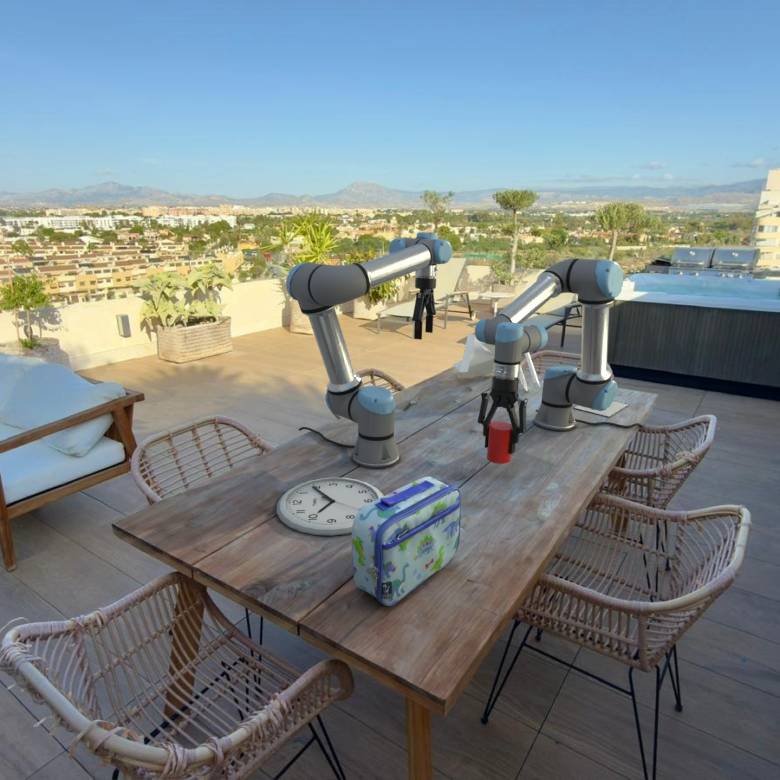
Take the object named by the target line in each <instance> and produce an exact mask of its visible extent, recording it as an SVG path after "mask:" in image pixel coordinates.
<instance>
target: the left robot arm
mask: <svg viewBox="0 0 780 780" xmlns="http://www.w3.org/2000/svg"><path fill="white" fill-rule="evenodd" d="M438 236H439V235H438V234H437V233H436V232H431V231H427V232H426V231H418V232H417V233H416V237H412V238H411V237H399V238H398V237H397V238H396V237H395V238H393V239H392V240H391V241H390V243H389V245H388V254H385V255H383V256H381V257H380V256H379V257H378V258H375V259H372V260H369V261H366V262H363V263H359V262H353V263H350V264H349V263H348V264H343V265H341V264H339V265H335V264H323V263H316V262H313V261H312V262H311V261H307V262H299V263H297V264H295V265H294V266H292V268H291V269H290V270H289V272H288V274H287V276H286V279H285V280H286V281H285V286H286V291H287V293H288V295H289V297H291V298H292V299H293V300H294V301H297V303H298V306H299V309H300V312H301V313H302V314H303V315H305V316H307V317H308V320H309V323H310V327H311V329H312V333H313V336H314V337H315V341H316V343H317V348H318V350H319V353H320V356H321V358H322V362H323V365H324V368H325V371H326V374H327V376H328V379H329V381H328V382H327V383H326V388H327V389H326V393H325V398H324V399H325V403H326V405H327V408H328V409H329V410H330V411H331V412H332V413H334V414H335V415H337V416H339V417H342V418H345V419H346V420H349V421H351V422H354V423H356V424H357V439H356V442H355V445H353V444H352V445H349V444H345V443H339V442H337V441H334V440H331V439H329V438H327V437H326V436H325V435H324V434H323V433H321V432H320V431H318V430H315V429H314V428H311V427H308V426H301V427H299V428H298V431H299V432H300V431H302V430H307V431H309V432H312V433H315V434H316V435H318V436H320V438H322V439H323V440H324V441H326V442H328V443H331V444H333V445H335V446H339V447H343V448H347V449H353V451H352V461H353V462H354V463H355V464H356V465H358V466H361V467H364V468H369V469H383V468H389V467H391V466H394V465H396V464H398V462H399V460H400V452H399V447H398V445H397V442H396V439H395V419H396V418H395V415H396V402H395V395H394V393H393V392H392V391H391V390H390V389H388V388H386V387H383V386H377V385H366V386H364V384H363V381H362V377H361V375H360V374H358V373H356V372H355V370H354V367H353V366H354V365H353V363H352V360H351V356H350V354H349V351H348V347H347V344H346V341H345V337H344V334H343V331H342V328H341V324H340V321H339V317H338V314H337V311H336V306H338V305H343V304H346V303H348V302H351V301H353V300H356V299H359V298H361V297H363V296H366V295H368V294H369V293H370V291H371V290H372V289H374V288H377V287H380V286H381V285H384V284H387V283H389V282H392V281H394V280H397V279H399V278H402V277H404V276H406V275H409V274H412V273H414V276H415V279H414V288H415V289H417V290H419V291H418V292H416V293H415V302H414V307H413V314H412V317H411V321H412V322H414V327H413V339H414V340H421V341H422V339H423V317H424V312H425V311H426V314H425V330H424V332H425V333H428V334H433V332H434V316H436V315H437V312H436V304H435V295H434V293H435V289H436V288H437V278H436V277H437V271H439V268H438V265H445V264H447V263H448V262H449V261H450V260H451V258H452V255H453V247H452V245H451V243H450V242H449V241H448V240H446V239H441V238H439V237H438Z"/></svg>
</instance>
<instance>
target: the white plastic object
mask: <svg viewBox="0 0 780 780" xmlns="http://www.w3.org/2000/svg"><path fill="white" fill-rule="evenodd" d="M465 341H466V342H465V345H464V351H463V355H462V359H461V360H460V361H457V362H455V363H453V364H452V366H453V370H454V374H455V375H456V377H457V378H458V379H466V378H474V377H475V378H476V377H483V376H485V377H490V376H494V375H493V366H494V357H495V345H491V344H486V343H483V342H480V341H478V340H477V339H476V336H475V333H473V334H472V333H471V334H470V333H469V334H467V338H466V340H465ZM524 356H525V359H526V362H527V365H528V368H529V372H530V375H531V378H532V380H533V383H534V386H535V387H536V389H539V388H541V384H540V382H539V378H538V375H537V372H536V369H535V366H534V363H533V361H532V358H531V357H532V356H531V353H530V352H528V353H524ZM522 368H523V367H522V364H520V373H519V377H518V379H519V382H520V384H521V385H522V387H523V388H524V390H525V391H526V392H528V390H529V388H528V387H529V386H528V384H527V381H526V377H525V375H524V371H523V369H522Z"/></svg>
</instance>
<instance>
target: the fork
mask: <svg viewBox="0 0 780 780" xmlns="http://www.w3.org/2000/svg"><path fill="white" fill-rule="evenodd" d="M418 398H419V396H415V395H413V396H412V398H411V399H410V402H409V403H408V404H407V405H406V406H405V407H404V409H403V411H406V410H407V409H409V408H410V407H411V405H413V404H416V403H417V402H418Z"/></svg>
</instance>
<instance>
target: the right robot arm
mask: <svg viewBox="0 0 780 780" xmlns="http://www.w3.org/2000/svg"><path fill="white" fill-rule="evenodd" d="M622 287H624V272H623V270H622V267H621V265H619V263H618V262H616V261H614V260H607V259H597V258H594V259H593V258H578V257H573V258H567V259H564V260H561V261H559V262H557V263H554V264H552V265H551V266H549V267H548V268H546V269H545V270H543V271H542V272H541V273H539V275H538V276H537V277H536V281H535V282H533V284H531V285H530V286H529V287H528V288H526V289H525V290H524V291H523V292H521V294H520V295H518V296H517V297H516V298H515V299H513V301H510V303H509V304H508V305H506V306H505V307H504V308H503V309H501V311H500V312H498V313H497V314H496V315H495V316H494V317H492V318H491V319H490V318H482V319H479V320H478V321H477V322H476V324H475V327H474V334H475V336H476V339H477V340H478V341H480V342H483V343H486V344H491V345H495V357H494V366H493V375H492V377H491V390H490V391H488V390H485V391H483V392H481V393H480V397H481V403H480V407H479V411H478V418H477V423H478V424H480V425H482V436H483V437H484V448H485V449H487V448H488V436H489V424H490V423H492V420H493V418H494V416H495V414H496V412H497V410H498V409H499V408H503V409H505V410H506V413H508V417H509V421H510V424H511V425H512V428H513V432H512V433H511V437H510V448H509V454H511V455H513V454H514V453H515V451H516V445H517V444H519V441H520V436H521V435H520V434H524V433H525V432H526V431H527V427H528V426H527V405H528V402H529V399H527V398H521V397H520V396H519V393H518V391H519V385H520V384H519V382H520V378H519V373H520V365H521V359H522V355H525V353H528V352H529V353H532V352H538V351H539V350H542V349H543V348H545V347H546V346H547V343H548V340H549V335H548V332H547V330H546V328H545V327H543V326H542V325H539V324H536V325H534V324H532V325H523V324H524V323H525V322H526V321H527V320H528V319H529V318H531V316H533V315H534V314H535V313H536V312H538V311H539V309H540V308H542V307H543V306H544V305H545V304H546V303H547V302H549V301H550V300H551V299H555V298H557V297H559V296H560V295H562V294H575V295H577V303H578V304H580V305H581V307H582V308H581V345H580V346H581V349H580V350H581V351H580V353H581V355H580V369H578V368H577V367H576V366H571V365H555V366H554V365H553V366H550V367H547V368H546V369H545V371H544V375H543V381H542V382H543V383H542V394H541V402H540V405H539V407H538V409H535V416H534V424H535V425H536V426H537V427H539V428H542V429H544V430H549V431H556V432H567V431H572V430H574V429H575V428H576V423H580V424H584V425H588V426H601V425H607V426H608V425H609V426H614V427H617V428H621V429H632V428H634V427H639V428H642V429H643V428H644V426H643V424H641V423H639V422H635V423H633V424H630V425H624V424H618V423H614V422H610V421H599V422H590V421H587V420H582V419H576V418H575V417H576V416H575V413H574V407H573V405H575V406H578V405H579V406H583V407H586V408H590V409H592V410H598V411H604V410H606V409H607V408H608V407H609V406H610V405H611V404H612V402H613V401H614V400H615V398H616V396H617V394H618V393H617V392H618V383H617V382H616V381H615V380H612V372H611V371H610V370H609V369H608V348H609V327H610V325H609V324H610V306H611V304H613V303H614V302H615V300H616V298H617V297H618V296H619V295H620V294H621V292H622ZM490 398H491V400H492V403H491V406H490V409H489V411H487V410H488V406H489V400H490ZM516 403H517V406H518V416H517V412H516V406H515V404H516ZM487 412H488V413H487Z"/></svg>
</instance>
